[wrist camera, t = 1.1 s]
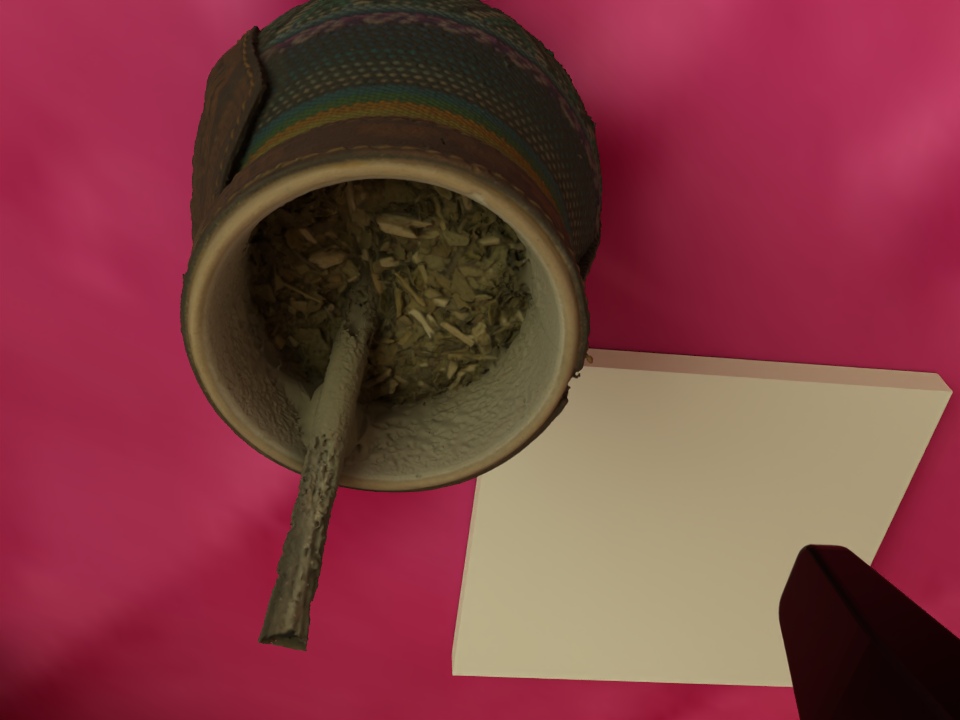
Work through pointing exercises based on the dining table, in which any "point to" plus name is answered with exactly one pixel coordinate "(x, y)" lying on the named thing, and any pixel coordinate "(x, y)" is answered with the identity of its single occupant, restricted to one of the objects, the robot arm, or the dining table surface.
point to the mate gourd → (387, 253)
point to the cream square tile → (681, 515)
